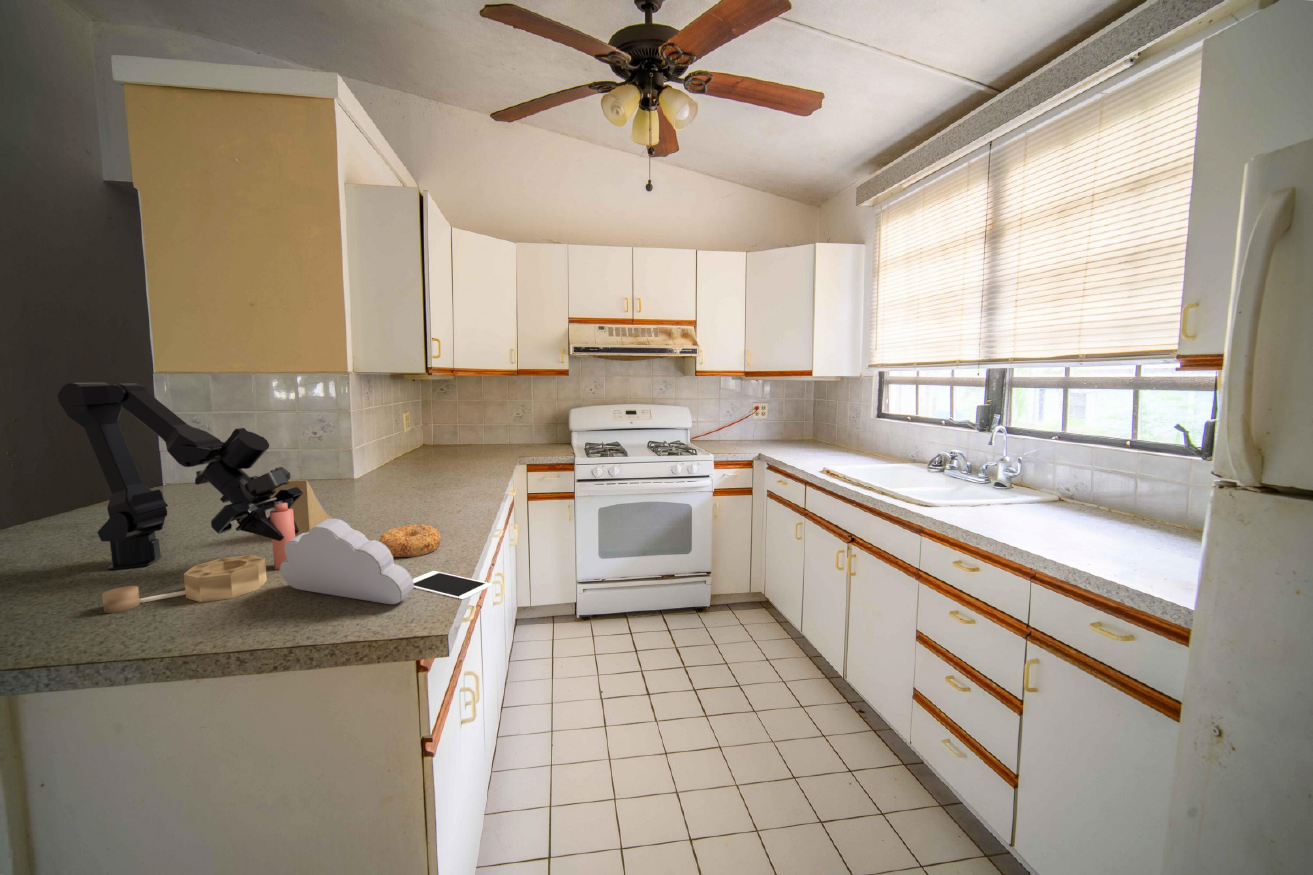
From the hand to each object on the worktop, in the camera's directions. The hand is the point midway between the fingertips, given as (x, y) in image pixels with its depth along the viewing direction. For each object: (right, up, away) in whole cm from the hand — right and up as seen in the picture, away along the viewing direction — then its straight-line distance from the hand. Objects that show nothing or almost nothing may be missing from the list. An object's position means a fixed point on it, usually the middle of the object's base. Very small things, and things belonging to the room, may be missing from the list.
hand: (289, 536), depth 110 cm
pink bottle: (-1, -6, +1) cm, 7 cm away
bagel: (+20, -6, +12) cm, 24 cm away
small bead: (-16, -9, -19) cm, 26 cm away
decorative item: (+20, -9, -14) cm, 26 cm away
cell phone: (+37, -8, -9) cm, 39 cm away
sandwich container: (-14, -4, +26) cm, 30 cm away
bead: (-4, -8, -11) cm, 14 cm away
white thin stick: (-12, -8, -15) cm, 21 cm away
